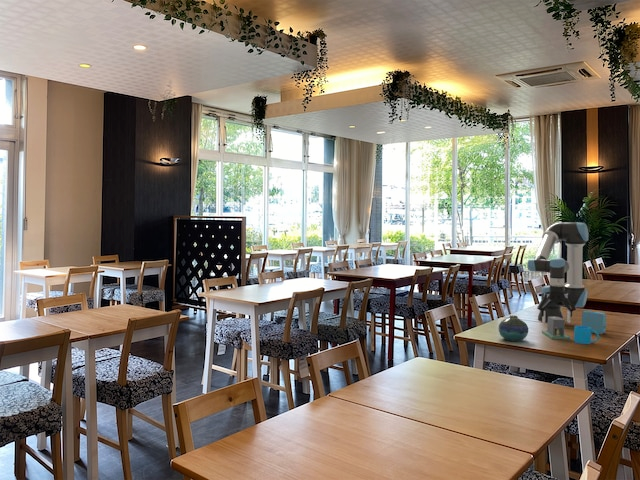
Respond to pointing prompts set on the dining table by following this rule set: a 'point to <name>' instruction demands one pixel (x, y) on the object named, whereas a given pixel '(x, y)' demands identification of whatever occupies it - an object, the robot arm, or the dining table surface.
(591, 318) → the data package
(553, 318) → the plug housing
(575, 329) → the mug
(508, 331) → the vase
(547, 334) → the header board
